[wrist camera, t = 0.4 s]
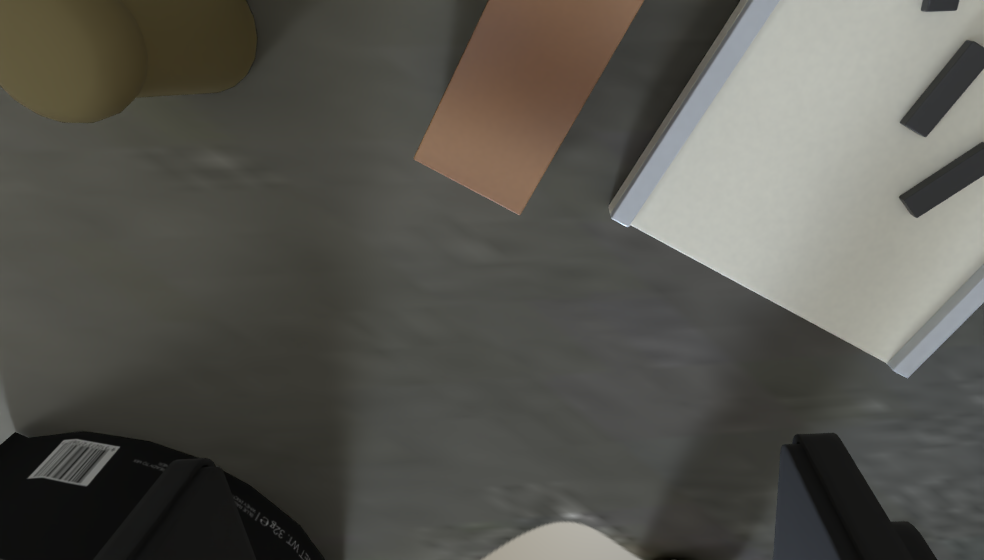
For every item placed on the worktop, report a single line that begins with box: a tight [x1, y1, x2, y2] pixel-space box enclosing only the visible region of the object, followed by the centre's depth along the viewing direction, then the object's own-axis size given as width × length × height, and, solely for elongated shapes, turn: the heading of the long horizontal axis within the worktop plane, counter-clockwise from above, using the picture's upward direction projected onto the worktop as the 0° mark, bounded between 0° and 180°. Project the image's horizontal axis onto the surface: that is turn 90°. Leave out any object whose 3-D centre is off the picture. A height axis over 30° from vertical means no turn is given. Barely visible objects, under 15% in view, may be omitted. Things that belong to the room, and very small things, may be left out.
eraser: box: [414, 0, 644, 215], centre depth 28 cm, size 11×5×6 cm, turn 153°
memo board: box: [609, 0, 984, 378], centre depth 29 cm, size 22×18×2 cm
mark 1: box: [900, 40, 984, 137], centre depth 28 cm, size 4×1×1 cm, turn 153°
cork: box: [0, 0, 257, 123], centre depth 27 cm, size 6×6×11 cm
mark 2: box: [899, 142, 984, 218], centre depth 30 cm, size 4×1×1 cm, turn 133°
